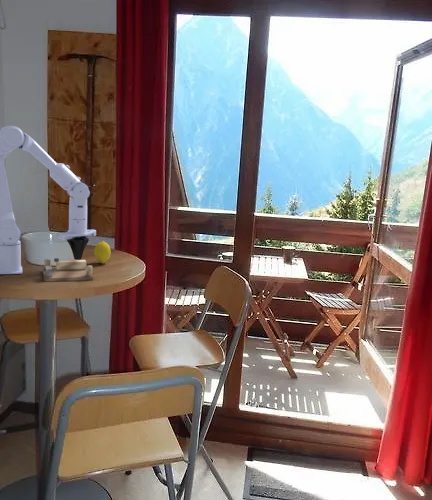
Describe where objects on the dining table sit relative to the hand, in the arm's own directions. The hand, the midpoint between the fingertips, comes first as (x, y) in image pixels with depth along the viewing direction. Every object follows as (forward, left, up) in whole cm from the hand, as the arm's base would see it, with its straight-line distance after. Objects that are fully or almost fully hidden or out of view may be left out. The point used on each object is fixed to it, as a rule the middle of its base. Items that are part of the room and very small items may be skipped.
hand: (77, 259), depth 161 cm
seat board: (-4, -10, -3) cm, 11 cm away
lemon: (+9, +5, -3) cm, 11 cm away
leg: (-3, -6, -2) cm, 7 cm away
